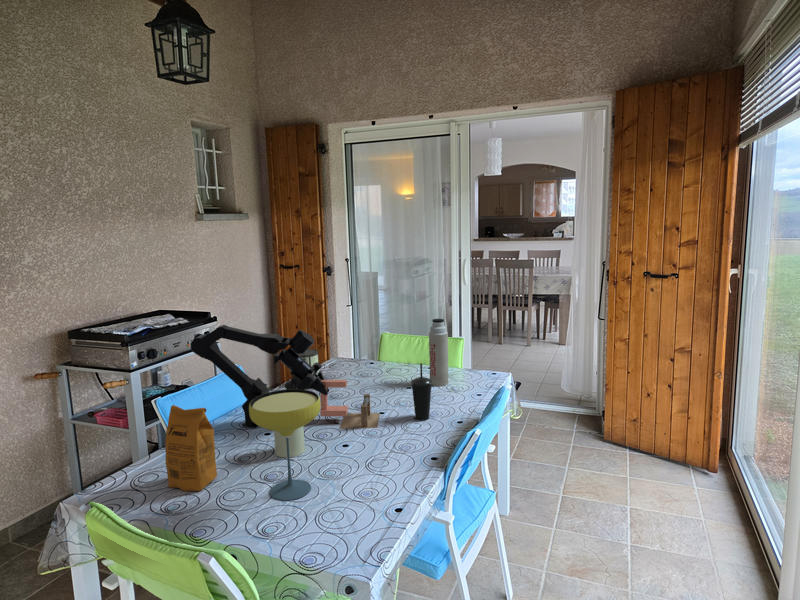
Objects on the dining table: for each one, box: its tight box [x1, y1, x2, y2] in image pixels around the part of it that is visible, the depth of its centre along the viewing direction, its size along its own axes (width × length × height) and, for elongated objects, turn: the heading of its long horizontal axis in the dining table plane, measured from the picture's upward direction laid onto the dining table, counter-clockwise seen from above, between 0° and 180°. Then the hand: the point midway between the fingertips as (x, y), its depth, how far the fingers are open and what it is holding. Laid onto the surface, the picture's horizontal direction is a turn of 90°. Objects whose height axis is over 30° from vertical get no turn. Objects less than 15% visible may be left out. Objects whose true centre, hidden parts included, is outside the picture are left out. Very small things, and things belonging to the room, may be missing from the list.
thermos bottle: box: [428, 318, 449, 387], centre depth 226 cm, size 8×8×28 cm
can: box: [273, 426, 306, 459], centre depth 164 cm, size 9×9×12 cm
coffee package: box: [165, 404, 218, 492], centre depth 145 cm, size 10×12×22 cm
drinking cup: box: [410, 363, 433, 421], centre depth 188 cm, size 8×8×20 cm
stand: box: [338, 393, 381, 430], centre depth 186 cm, size 13×14×8 cm
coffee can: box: [298, 348, 320, 373], centre depth 233 cm, size 10×10×14 cm
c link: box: [319, 379, 349, 417], centre depth 186 cm, size 9×5×12 cm, turn 89°
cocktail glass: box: [249, 389, 321, 502], centre depth 139 cm, size 18×18×25 cm
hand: (327, 393), depth 186 cm, fingers closed on c link, 2 cm apart
